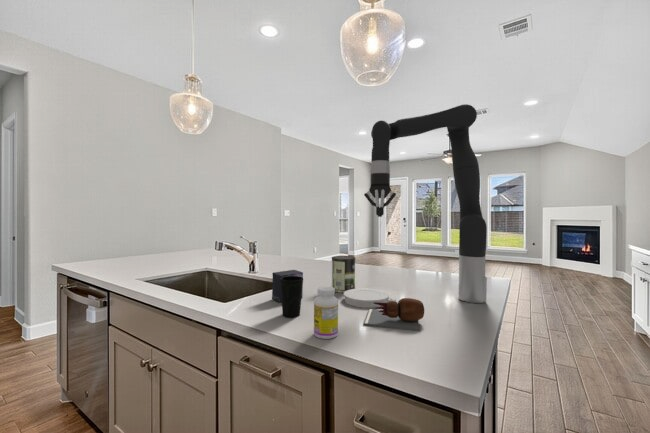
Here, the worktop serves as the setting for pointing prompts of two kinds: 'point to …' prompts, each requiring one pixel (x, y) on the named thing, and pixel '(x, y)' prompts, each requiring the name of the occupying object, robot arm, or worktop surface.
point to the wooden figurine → (403, 309)
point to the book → (388, 321)
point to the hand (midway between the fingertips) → (379, 216)
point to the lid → (367, 297)
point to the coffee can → (343, 273)
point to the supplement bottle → (326, 313)
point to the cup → (291, 295)
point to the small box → (276, 282)
